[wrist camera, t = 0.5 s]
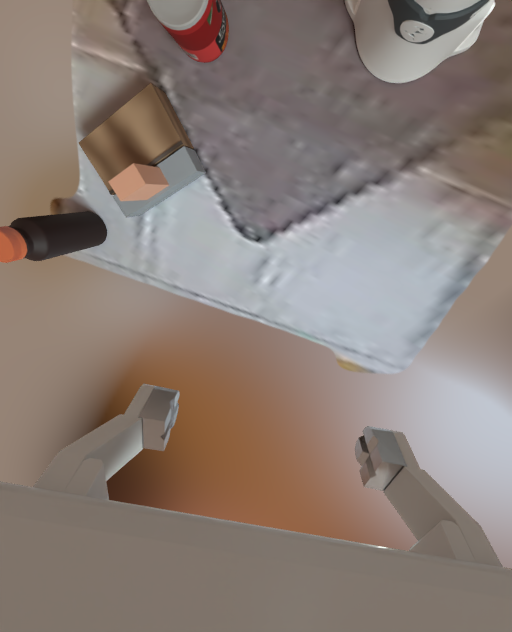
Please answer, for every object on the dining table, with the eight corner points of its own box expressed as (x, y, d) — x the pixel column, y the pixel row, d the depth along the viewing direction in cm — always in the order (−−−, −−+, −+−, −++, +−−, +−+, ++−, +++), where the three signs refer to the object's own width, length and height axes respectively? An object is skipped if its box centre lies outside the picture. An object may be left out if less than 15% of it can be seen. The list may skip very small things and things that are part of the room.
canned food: (235, 56, 43) (215, 15, 33) (187, 71, 44) (155, 37, 34) (223, -11, 40) (197, -79, 30) (173, 8, 41) (133, -50, 32)
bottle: (79, 205, 56) (-26, 212, 38) (110, 220, 56) (20, 233, 38) (75, 237, 59) (-24, 257, 41) (105, 250, 59) (19, 276, 41)
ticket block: (165, 93, 46) (150, 82, 41) (194, 148, 49) (182, 143, 44) (98, 147, 51) (77, 142, 46) (127, 194, 54) (110, 194, 49)
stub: (194, 150, 49) (161, 137, 37) (206, 172, 50) (177, 167, 38) (127, 195, 54) (80, 197, 42) (140, 215, 55) (97, 221, 43)
